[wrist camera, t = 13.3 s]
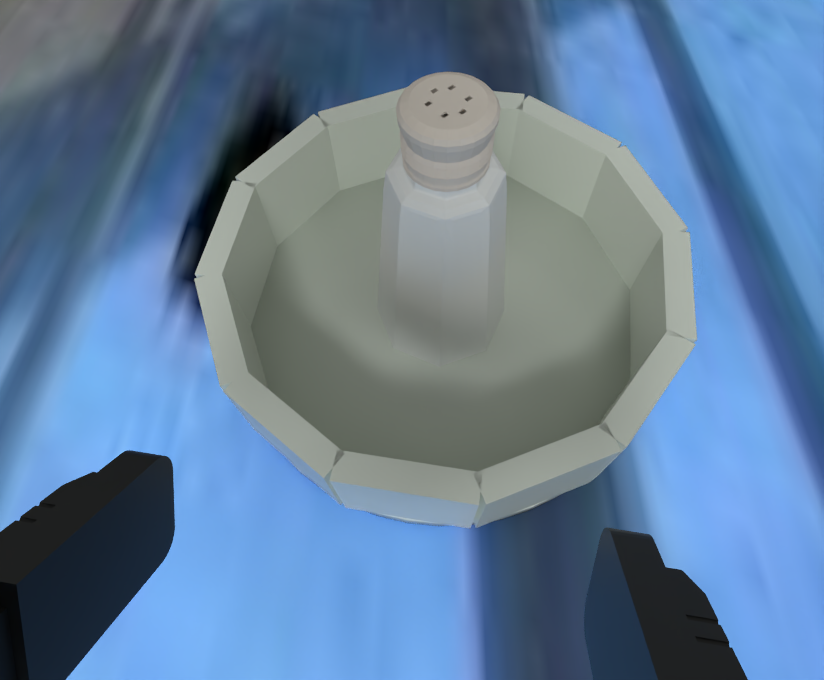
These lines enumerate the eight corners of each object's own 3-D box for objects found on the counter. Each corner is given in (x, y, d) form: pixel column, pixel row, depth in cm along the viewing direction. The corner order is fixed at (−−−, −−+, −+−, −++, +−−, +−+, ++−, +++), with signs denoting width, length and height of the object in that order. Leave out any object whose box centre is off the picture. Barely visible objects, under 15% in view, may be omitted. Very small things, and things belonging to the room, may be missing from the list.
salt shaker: (352, 309, 25) (304, 99, 16) (441, 240, 27) (449, 10, 17) (438, 393, 23) (446, 214, 14) (529, 313, 25) (594, 102, 15)
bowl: (156, 346, 26) (100, 285, 21) (413, 119, 32) (411, 35, 28) (485, 635, 20) (502, 633, 16) (718, 292, 26) (778, 221, 22)
